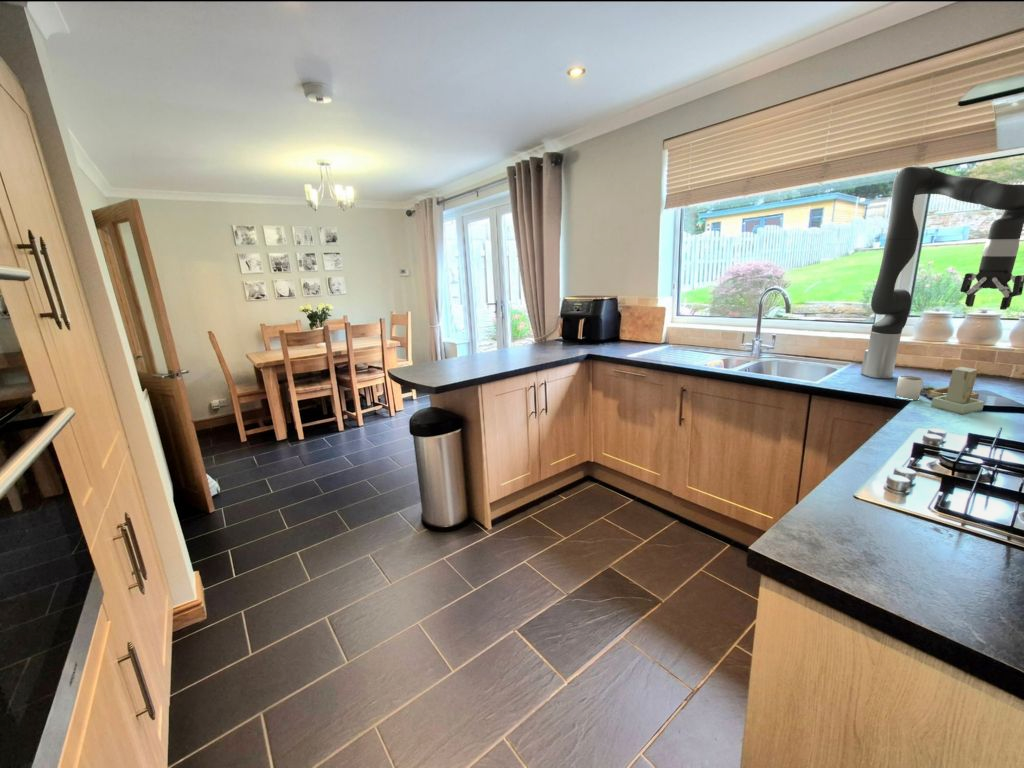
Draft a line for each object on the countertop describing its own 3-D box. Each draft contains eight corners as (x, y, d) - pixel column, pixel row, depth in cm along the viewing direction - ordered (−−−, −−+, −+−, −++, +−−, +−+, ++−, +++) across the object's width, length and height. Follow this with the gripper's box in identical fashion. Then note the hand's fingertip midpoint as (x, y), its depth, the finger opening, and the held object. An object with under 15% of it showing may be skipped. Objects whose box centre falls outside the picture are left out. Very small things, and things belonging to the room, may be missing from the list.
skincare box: (960, 410, 148) (970, 372, 145) (943, 406, 152) (952, 369, 148) (968, 406, 151) (978, 368, 148) (951, 402, 155) (960, 366, 151)
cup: (890, 396, 164) (894, 376, 162) (902, 393, 166) (906, 374, 164) (910, 401, 158) (915, 381, 156) (923, 399, 161) (928, 378, 159)
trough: (930, 406, 153) (932, 397, 153) (950, 402, 157) (952, 393, 156) (962, 415, 146) (964, 405, 145) (982, 410, 149) (984, 401, 148)
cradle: (909, 393, 167) (910, 386, 166) (928, 389, 170) (930, 382, 170) (956, 405, 154) (958, 398, 153) (977, 401, 158) (979, 393, 157)
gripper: (1037, 254, 142) (1022, 309, 147) (978, 254, 155) (965, 304, 159) (1022, 255, 139) (1007, 311, 144) (963, 254, 152) (951, 306, 157)
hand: (985, 308), depth 152 cm, fingers open, 8 cm apart
